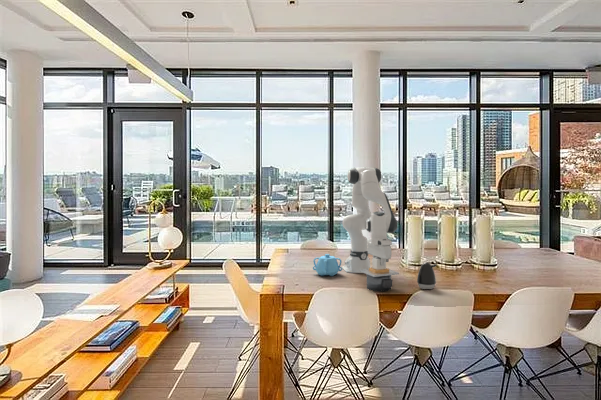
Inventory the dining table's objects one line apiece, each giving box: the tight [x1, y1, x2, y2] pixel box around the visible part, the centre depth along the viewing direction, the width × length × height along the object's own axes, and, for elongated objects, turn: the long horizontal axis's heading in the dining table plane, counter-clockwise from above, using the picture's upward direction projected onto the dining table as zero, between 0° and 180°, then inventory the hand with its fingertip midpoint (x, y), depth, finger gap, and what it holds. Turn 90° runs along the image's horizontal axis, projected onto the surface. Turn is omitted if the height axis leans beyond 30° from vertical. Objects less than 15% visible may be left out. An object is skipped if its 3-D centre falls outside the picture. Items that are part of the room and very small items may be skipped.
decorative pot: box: [312, 253, 343, 277], centre depth 282 cm, size 16×16×14 cm
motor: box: [360, 268, 400, 292], centre depth 244 cm, size 18×16×10 cm
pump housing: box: [371, 257, 390, 270], centre depth 245 cm, size 5×9×7 cm, turn 111°
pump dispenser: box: [416, 261, 437, 290], centre depth 243 cm, size 10×10×15 cm
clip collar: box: [369, 267, 390, 273], centre depth 245 cm, size 8×9×2 cm
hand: (379, 264), depth 245 cm, fingers closed on pump housing, 5 cm apart
